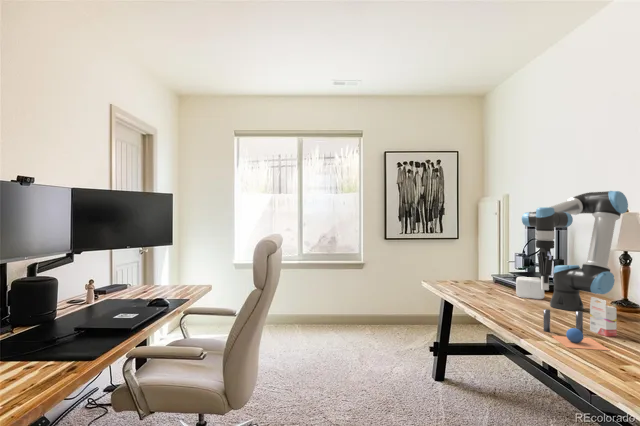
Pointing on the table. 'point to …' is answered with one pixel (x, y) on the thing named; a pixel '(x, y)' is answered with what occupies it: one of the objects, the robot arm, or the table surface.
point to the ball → (574, 335)
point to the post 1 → (546, 320)
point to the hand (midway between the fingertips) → (544, 289)
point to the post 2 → (579, 320)
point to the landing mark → (581, 343)
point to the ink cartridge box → (602, 318)
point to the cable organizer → (529, 288)
